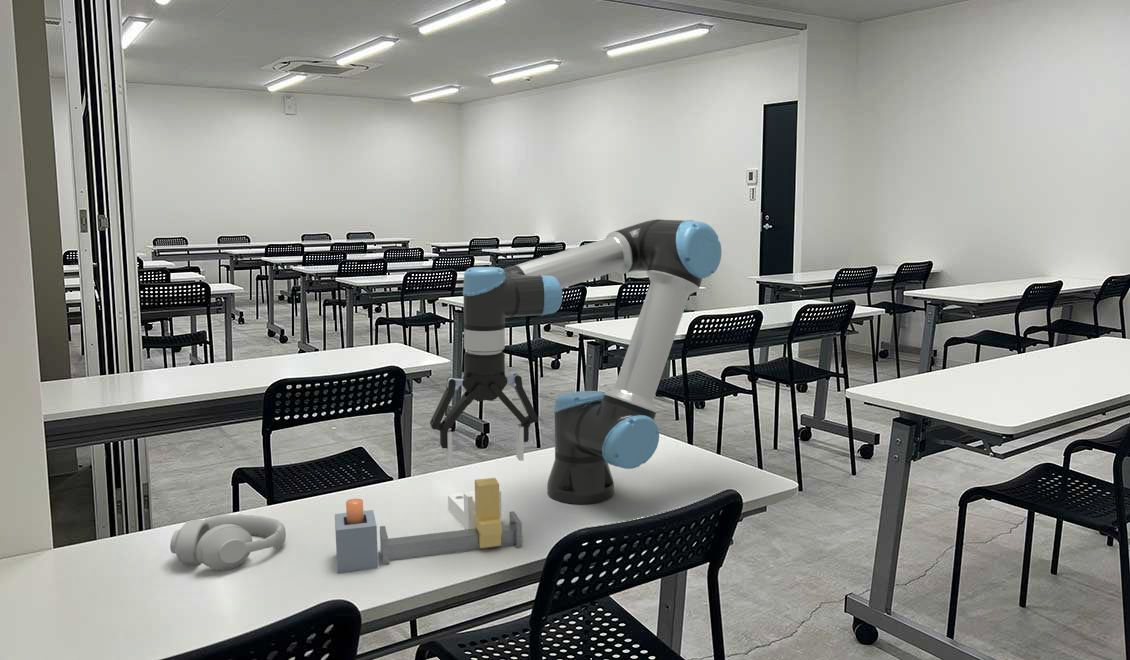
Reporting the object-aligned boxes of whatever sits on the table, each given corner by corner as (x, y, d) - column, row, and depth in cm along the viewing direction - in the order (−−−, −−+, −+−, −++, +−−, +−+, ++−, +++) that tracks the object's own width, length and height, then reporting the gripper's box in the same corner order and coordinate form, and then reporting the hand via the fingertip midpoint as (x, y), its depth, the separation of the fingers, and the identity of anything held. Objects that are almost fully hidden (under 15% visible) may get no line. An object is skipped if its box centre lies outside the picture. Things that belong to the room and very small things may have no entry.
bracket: (501, 526, 170) (501, 491, 169) (468, 532, 167) (467, 496, 166) (479, 505, 182) (478, 472, 181) (448, 511, 179) (447, 477, 178)
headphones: (231, 581, 145) (302, 550, 164) (232, 536, 144) (304, 511, 163) (148, 566, 151) (226, 538, 170) (149, 523, 150) (227, 500, 169)
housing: (374, 550, 159) (373, 509, 157) (378, 567, 151) (376, 525, 150) (336, 554, 157) (334, 514, 155) (338, 572, 149) (336, 530, 148)
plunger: (363, 523, 155) (362, 497, 154) (364, 529, 152) (363, 503, 151) (346, 525, 154) (345, 499, 153) (347, 531, 151) (346, 505, 150)
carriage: (494, 532, 165) (493, 474, 163) (501, 546, 158) (501, 486, 156) (474, 535, 163) (472, 476, 162) (481, 549, 157) (480, 488, 155)
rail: (514, 535, 165) (514, 511, 165) (521, 547, 160) (521, 522, 159) (380, 551, 158) (379, 526, 157) (383, 564, 152) (382, 538, 151)
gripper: (543, 344, 162) (543, 450, 165) (414, 350, 155) (416, 460, 158) (554, 351, 155) (553, 461, 158) (419, 357, 148) (421, 473, 151)
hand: (484, 461), depth 158 cm, fingers open, 13 cm apart
